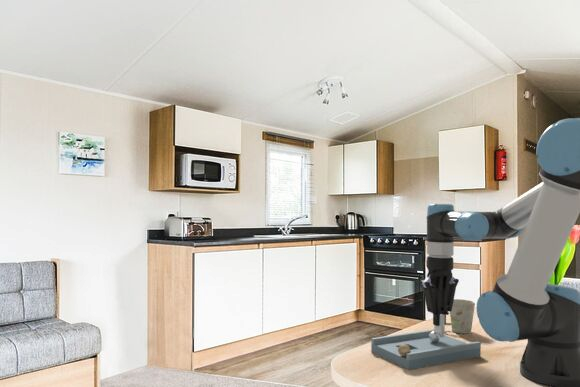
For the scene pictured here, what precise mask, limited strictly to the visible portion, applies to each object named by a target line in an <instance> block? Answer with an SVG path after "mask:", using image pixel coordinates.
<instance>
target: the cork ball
mask: <svg viewBox="0 0 580 387" xmlns="http://www.w3.org/2000/svg"><path fill="white" fill-rule="evenodd" d="M398 352H399V354H400V355H401V356H403V357H406V353H410V352H411V350H410V347H409V346H408V345H406V344H401V345H400V346H399V348H398Z"/></svg>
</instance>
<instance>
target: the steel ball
mask: <svg viewBox="0 0 580 387" xmlns="http://www.w3.org/2000/svg"><path fill="white" fill-rule="evenodd" d="M429 340H430V341H431V342H433V343H437V342H438V341H439V340H440V335H439V334H438V333H437V332H435V331H433V332H431V333H430V334H429Z"/></svg>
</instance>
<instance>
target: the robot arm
mask: <svg viewBox="0 0 580 387" xmlns="http://www.w3.org/2000/svg"><path fill="white" fill-rule="evenodd" d="M535 151H536V152H535V154H536V157H538V158H537V159H536V160H537V164H538V165H539V166H540V170H539V171H538V172H539V173H538V176H540V179H541V181H542V182H540V183H539V184H537V185H536V186H534V187H532V188H530V189H529V190H528V191H526V192H525V193H523V194H521V195H520V196H518V197H516V198H515V199H514V200H512V201H511V202H509V203H506V205H504V206H502V207H501V208H500V209H498V210H496V211H457V210H456V211H455V207H454V205H453V204H451V203H430V204H428V205H427V210H426V254H427V255H428V256H427V257H426V268H427V272H428V273H427V274H426V278H424V280H423V279H422V280H420V282H419V284H420V286H421V288H422V290H423V295H424V301H425V306H426V311H427V312H429V313H431V314H432V324H433V327H434V331H435V332H437V333H438V334H439V335H440V338H442V337H445V336H446V334H445V329H446V328H445V326H446V325H445V324H446V323H447V316H448V315H450V311H452V306H453V301H454V299H455V295H456V289H457V286H458V284H459V282H460V281H459V279H458V278H455V277H454V276H453V272H452V271H453V270H454V257H453V256H454V248H455V247H454V246H455V245H454V243H455V242H454V239H455V238H456V239H462V240H466V241H480V240H483V239H484V240H485V239H504V240H509V239H514V238H517V237H519V236H521V234H522V236H521V237H520V241H519V243H518V245H517V248H516V251H515V253H514V255H513V258H512V260H511V263H510V266H509V267H508V270H507V273H506V274H502V275H499V276H498V278H497V280H496V282H495V283H494V286H493V289H492V290H487V291H486V292H484V293H481V294H480V295H479V297H478V299H477V302H476V316H477V319H478V322H479V324H480V326H481V328H482V329H483V331H484V332H485V333H486V335H488V336H489V337H490V338H492V339H493V340H494V341H498V342H510V343H512V342H517V341H524V340H527V343H526V346H525V349H524V352H523V355H522V356H521V360H520V362H519V372H520V374H521V375H522V376H523V377H525V379H528V380H530V381H532V382H536V383H538V384H543V385H545V386H550V387H580V291H579V290H578V289H576V288H574V287H570V286H564V285H558V284H553V283H550V280H551V278H552V276H553V274H554V271H555V269H556V266H557V264H558V263H559V261H560V258H561V256H562V254H563V251H564V249H565V247H566V245H567V242H568V240H569V237H570V235H571V233H572V231H573V230H574V227H575V224H576V222H577V220H578V218H579V215H580V117H576V118H564V119H560V120H558V121H556V122H555V123H553V124H551V125H550V126H548V127H547V128H546V129H545V130H544V132H543V133H542V134H541V135H540V138H539V139H538V141H537V145H536V150H535ZM522 232H523V233H522Z"/></svg>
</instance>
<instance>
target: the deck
mask: <svg viewBox="0 0 580 387" xmlns="http://www.w3.org/2000/svg"><path fill="white" fill-rule="evenodd" d="M433 331H434V329H426V330H420V331H419V330H418V331H414V332H413V331H412V332H405V333H399V334H392V335H385V336H377V337H372V338H371V342H370V344H371V345H370V346H371V351H370V352H371V353H372V354H373V355H374V354H375V355H376V356H379V357H381V358H382V359H385V360H387V361H389V362H391V363H392V364H395V365H398V366H400V367H402V368H404V369H406V370H407V371H412V370H417V369H418V370H419V369H423V368H427V367H433V366H437V365H443V364H450V363H453V362H458V361H459V362H460V361H465V360H470V359H476V358H480V357H481V355H482V354H481V353H482V352H481V348H482V347H481V345H482V344H481V343H482V342H480V341H472V342H466V341H462V340H459V339H457V338H454V337H451V336H448V335H445V337H442V338H440V340H439V341H438V342H437V343H433V342H431V341H430V340H429V334H430V333H431V332H433ZM401 344H406V345H408V346H409V347H410V350H411V352H410V353H406V357H403V356H401V355H400V354H399V352H398V348H399V346H400V345H401Z"/></svg>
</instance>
